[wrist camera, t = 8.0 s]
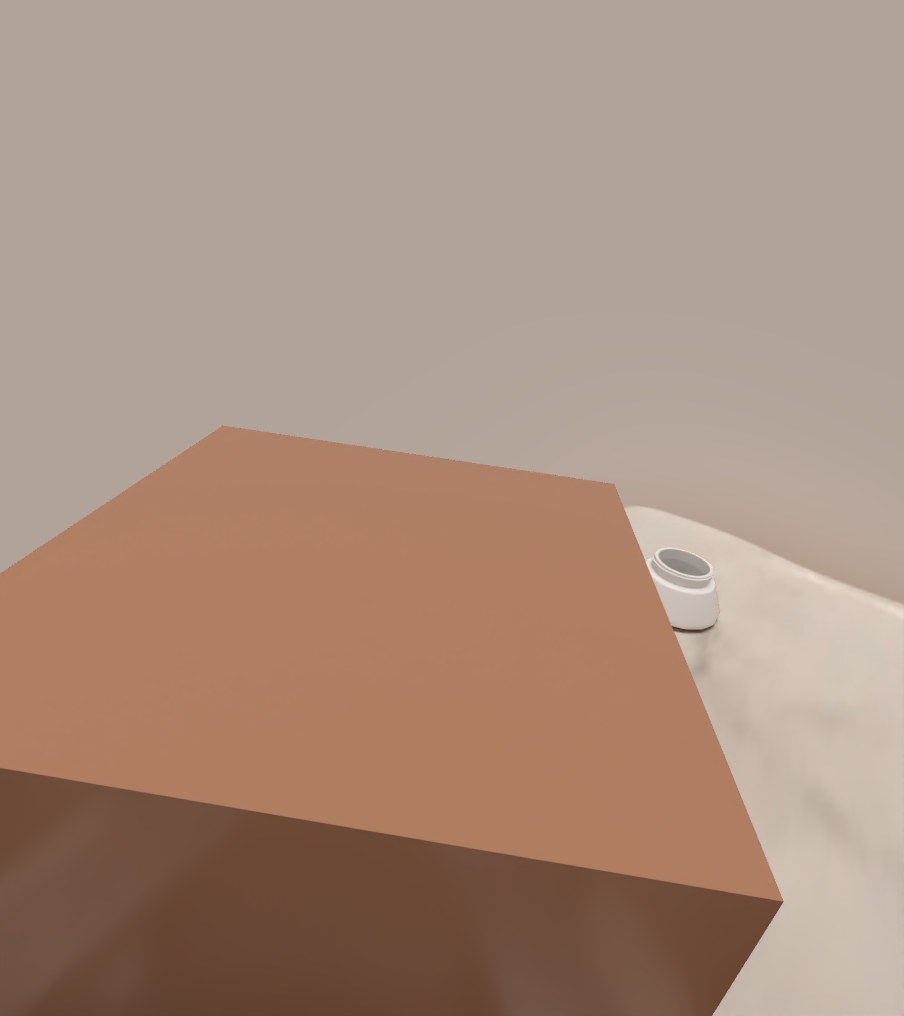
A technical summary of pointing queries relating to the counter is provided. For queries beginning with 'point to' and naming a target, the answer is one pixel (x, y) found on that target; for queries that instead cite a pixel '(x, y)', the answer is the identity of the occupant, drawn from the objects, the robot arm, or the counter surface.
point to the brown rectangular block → (360, 752)
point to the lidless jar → (685, 588)
